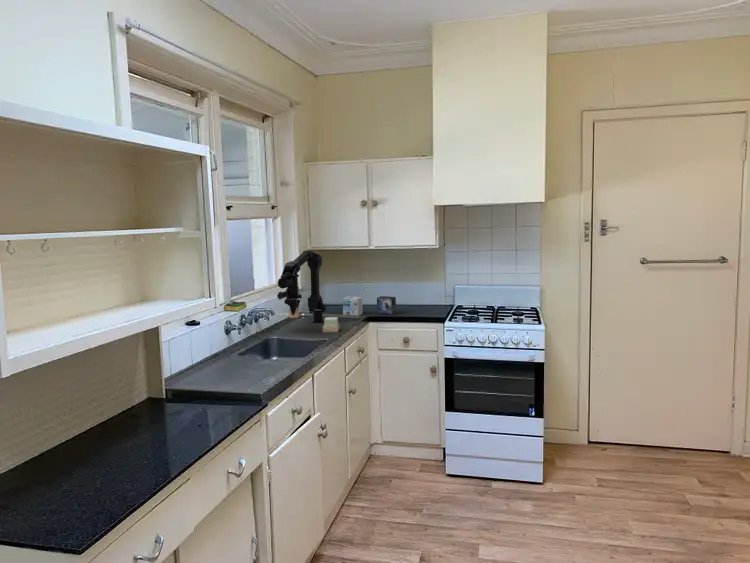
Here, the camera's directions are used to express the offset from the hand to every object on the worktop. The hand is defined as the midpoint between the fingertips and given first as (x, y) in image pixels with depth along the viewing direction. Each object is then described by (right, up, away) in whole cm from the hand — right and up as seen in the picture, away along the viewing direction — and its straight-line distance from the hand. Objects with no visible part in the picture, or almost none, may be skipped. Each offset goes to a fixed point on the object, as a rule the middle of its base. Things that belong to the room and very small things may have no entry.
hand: (294, 314), depth 307 cm
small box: (+51, -2, +42) cm, 67 cm away
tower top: (+20, -6, -1) cm, 21 cm away
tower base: (+20, -9, -1) cm, 22 cm away
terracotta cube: (0, -2, 0) cm, 2 cm away
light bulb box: (+30, -3, +43) cm, 53 cm away
